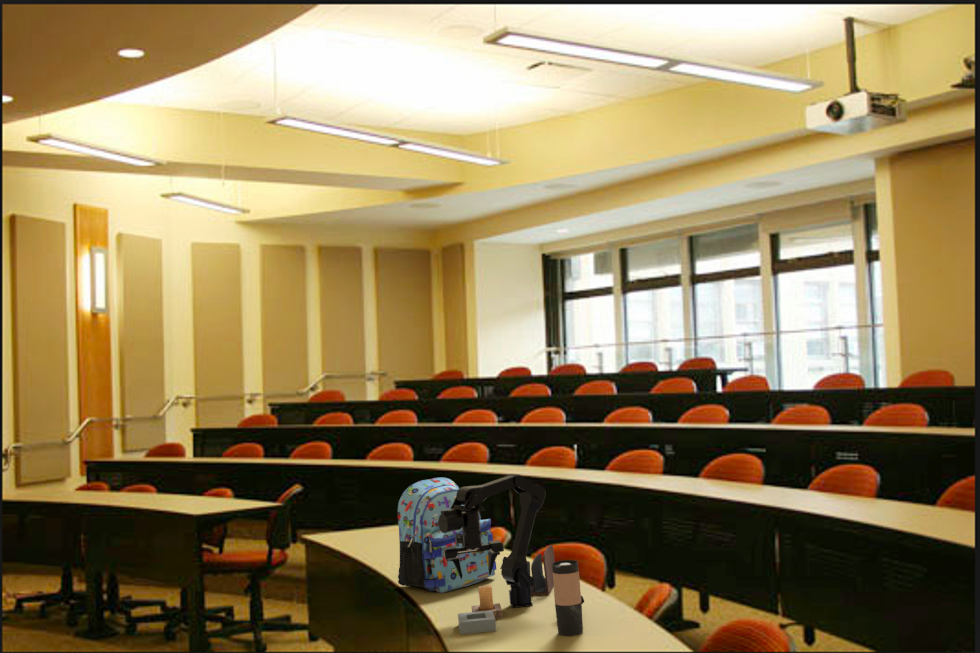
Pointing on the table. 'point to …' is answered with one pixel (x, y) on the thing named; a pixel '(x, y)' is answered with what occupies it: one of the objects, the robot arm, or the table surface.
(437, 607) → the table surface
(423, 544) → the backpack
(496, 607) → the mount
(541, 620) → the table surface
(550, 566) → the letter holder
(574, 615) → the travel mug
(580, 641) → the table surface
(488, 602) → the peg
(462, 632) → the socket
